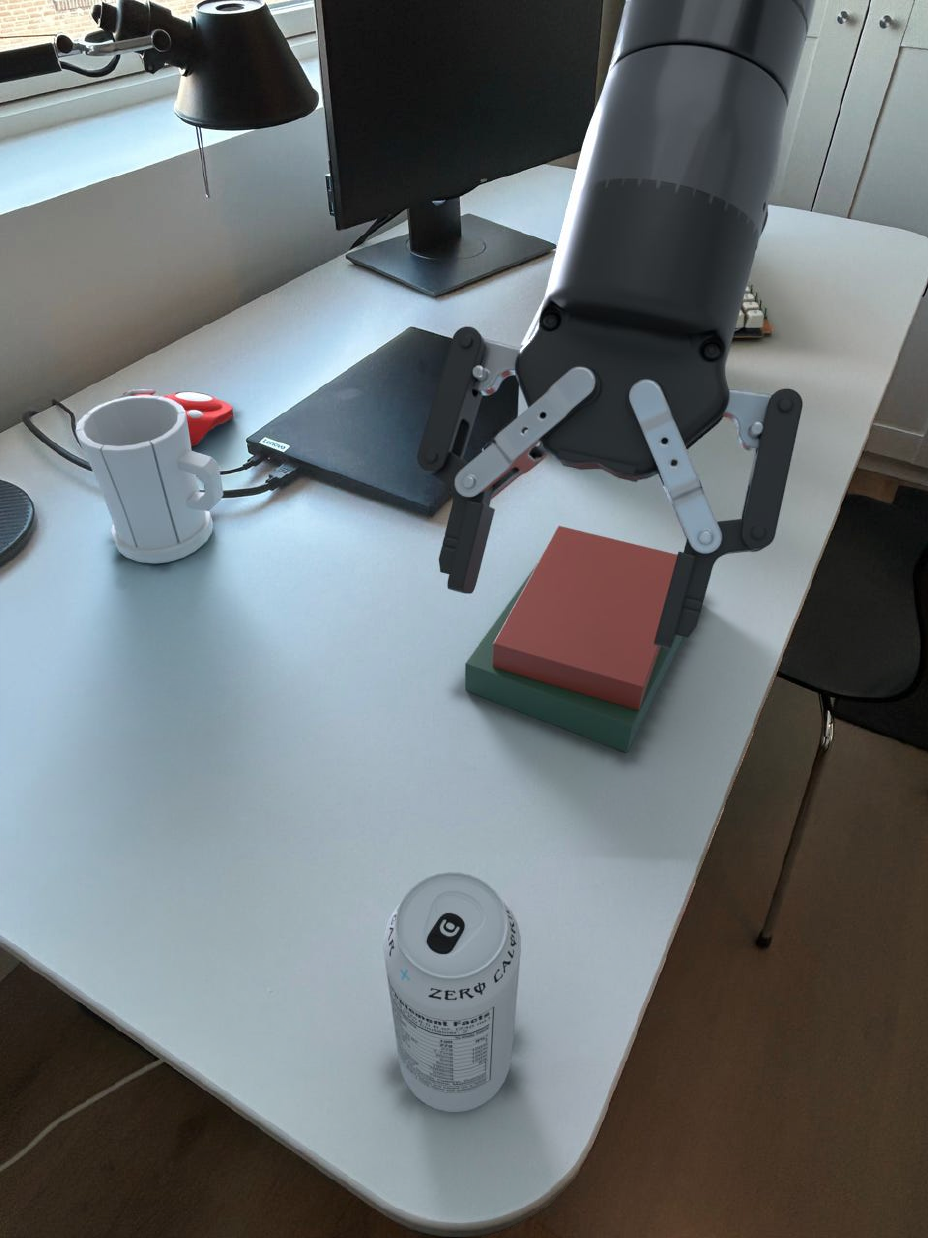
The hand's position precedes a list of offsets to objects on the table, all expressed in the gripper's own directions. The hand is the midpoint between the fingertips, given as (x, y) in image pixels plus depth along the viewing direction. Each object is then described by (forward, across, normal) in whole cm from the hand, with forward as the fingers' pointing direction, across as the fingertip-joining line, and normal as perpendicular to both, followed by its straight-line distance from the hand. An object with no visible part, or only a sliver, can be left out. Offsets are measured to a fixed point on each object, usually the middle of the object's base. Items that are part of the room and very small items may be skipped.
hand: (559, 618), depth 36 cm
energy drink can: (+25, -1, +10) cm, 27 cm away
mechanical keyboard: (-44, -8, +91) cm, 101 cm away
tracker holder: (-7, -51, +50) cm, 72 cm away
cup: (+4, -41, +37) cm, 55 cm away
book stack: (+3, -2, +35) cm, 35 cm away
